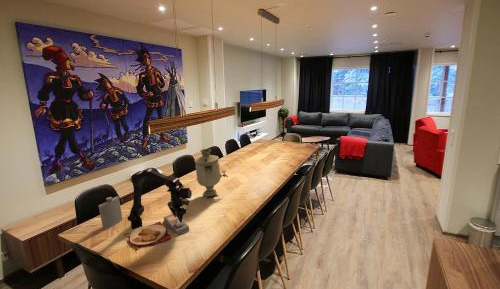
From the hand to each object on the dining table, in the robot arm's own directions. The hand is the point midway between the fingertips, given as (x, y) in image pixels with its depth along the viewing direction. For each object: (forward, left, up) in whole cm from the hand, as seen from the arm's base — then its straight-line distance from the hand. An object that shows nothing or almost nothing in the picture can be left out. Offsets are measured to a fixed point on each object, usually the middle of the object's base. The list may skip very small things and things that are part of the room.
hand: (178, 219), depth 173 cm
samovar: (+44, +33, -7) cm, 55 cm away
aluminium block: (0, 0, -7) cm, 7 cm away
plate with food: (-19, +5, -8) cm, 21 cm away
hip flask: (-33, +38, -7) cm, 51 cm away
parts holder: (0, +6, -7) cm, 9 cm away
